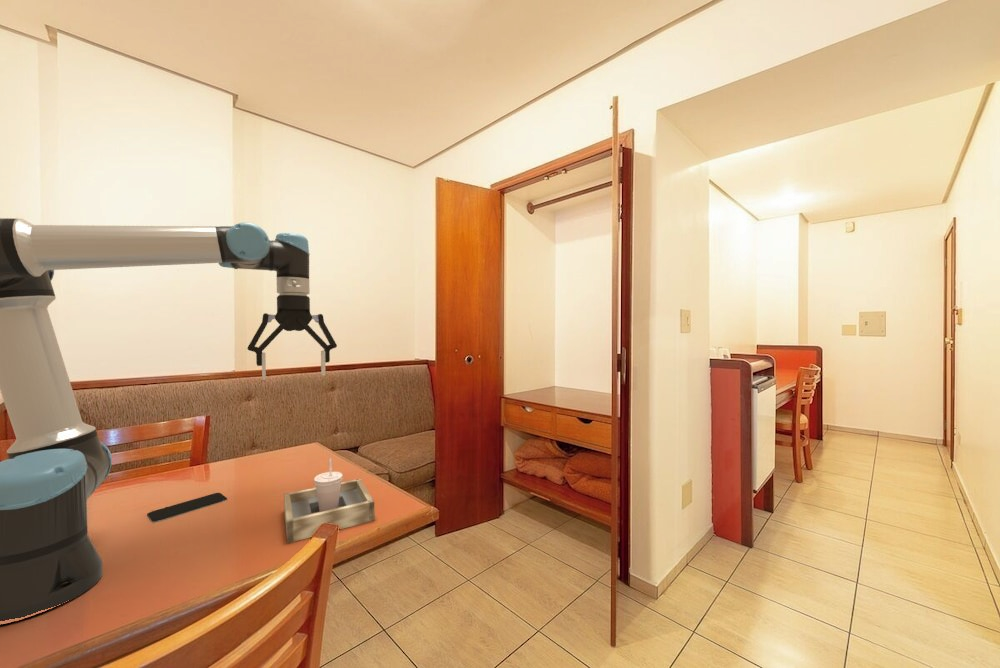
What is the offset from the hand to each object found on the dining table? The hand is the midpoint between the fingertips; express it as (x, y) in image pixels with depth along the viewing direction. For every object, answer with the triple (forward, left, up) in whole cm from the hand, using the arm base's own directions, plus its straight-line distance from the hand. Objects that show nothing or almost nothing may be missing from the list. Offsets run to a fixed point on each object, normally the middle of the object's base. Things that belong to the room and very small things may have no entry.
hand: (294, 376), depth 99 cm
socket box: (+6, -13, -33) cm, 36 cm away
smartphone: (-24, +11, -33) cm, 42 cm away
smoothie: (+6, -13, -33) cm, 36 cm away
